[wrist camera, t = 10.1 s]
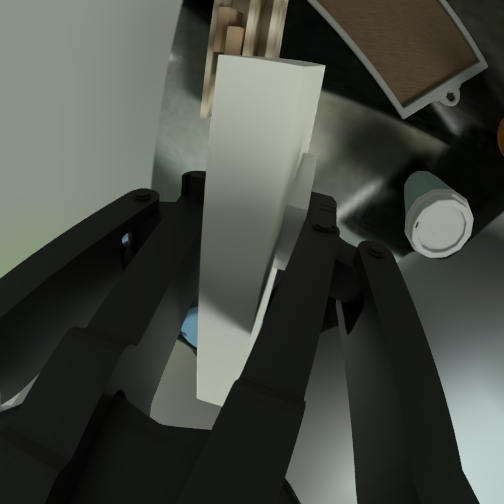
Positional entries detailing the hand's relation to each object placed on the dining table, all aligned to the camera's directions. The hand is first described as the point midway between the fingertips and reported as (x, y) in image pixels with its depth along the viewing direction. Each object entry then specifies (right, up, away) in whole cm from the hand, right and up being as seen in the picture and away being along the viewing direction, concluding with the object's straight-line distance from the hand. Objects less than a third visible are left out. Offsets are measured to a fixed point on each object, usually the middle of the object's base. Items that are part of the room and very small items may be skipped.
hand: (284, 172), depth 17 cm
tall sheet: (+3, +6, +10) cm, 12 cm away
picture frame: (+21, +30, +20) cm, 42 cm away
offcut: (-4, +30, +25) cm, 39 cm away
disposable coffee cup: (+27, +7, +33) cm, 43 cm away
